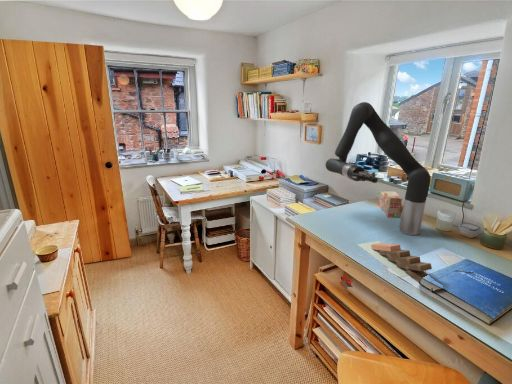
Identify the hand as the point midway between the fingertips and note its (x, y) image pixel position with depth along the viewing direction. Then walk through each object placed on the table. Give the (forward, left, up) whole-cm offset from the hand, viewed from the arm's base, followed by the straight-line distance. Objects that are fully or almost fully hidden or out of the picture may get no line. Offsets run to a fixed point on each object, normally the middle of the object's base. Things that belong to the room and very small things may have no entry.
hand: (376, 180), depth 128 cm
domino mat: (+16, +2, -30) cm, 34 cm away
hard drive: (+22, +27, -31) cm, 46 cm away
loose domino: (+8, 0, -29) cm, 30 cm away
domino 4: (+27, +5, -29) cm, 40 cm away
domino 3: (+23, +4, -29) cm, 37 cm away
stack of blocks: (-38, +28, -30) cm, 56 cm away
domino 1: (+13, +1, -29) cm, 31 cm away
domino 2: (+18, +3, -29) cm, 34 cm away
